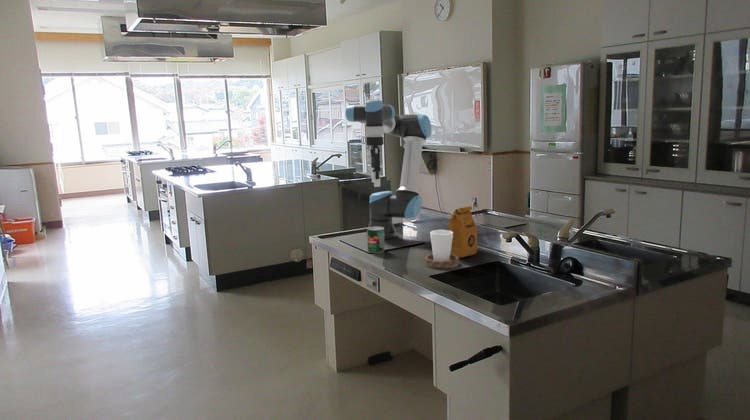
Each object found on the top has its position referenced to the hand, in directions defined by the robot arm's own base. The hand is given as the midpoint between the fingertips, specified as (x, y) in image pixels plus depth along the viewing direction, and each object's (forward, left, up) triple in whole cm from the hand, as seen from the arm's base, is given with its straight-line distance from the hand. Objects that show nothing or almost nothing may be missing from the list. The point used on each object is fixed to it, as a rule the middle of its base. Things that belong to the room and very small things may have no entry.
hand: (376, 184), depth 239 cm
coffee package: (+7, +38, -33) cm, 50 cm away
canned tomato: (-6, 0, -33) cm, 33 cm away
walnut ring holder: (+19, +26, -32) cm, 45 cm away
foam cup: (+19, +26, -32) cm, 45 cm away
